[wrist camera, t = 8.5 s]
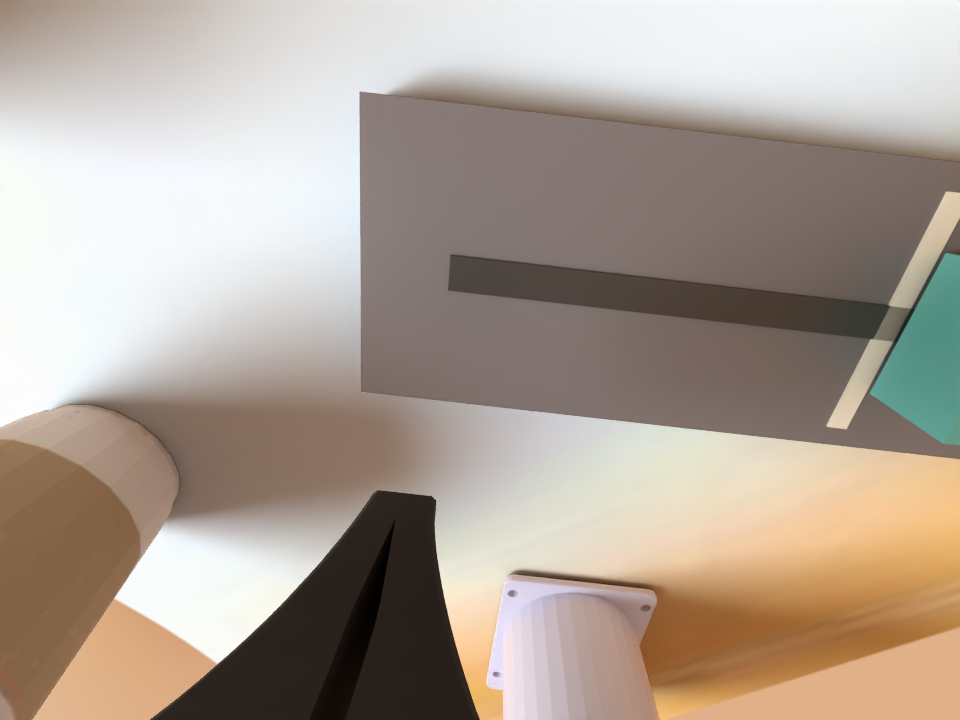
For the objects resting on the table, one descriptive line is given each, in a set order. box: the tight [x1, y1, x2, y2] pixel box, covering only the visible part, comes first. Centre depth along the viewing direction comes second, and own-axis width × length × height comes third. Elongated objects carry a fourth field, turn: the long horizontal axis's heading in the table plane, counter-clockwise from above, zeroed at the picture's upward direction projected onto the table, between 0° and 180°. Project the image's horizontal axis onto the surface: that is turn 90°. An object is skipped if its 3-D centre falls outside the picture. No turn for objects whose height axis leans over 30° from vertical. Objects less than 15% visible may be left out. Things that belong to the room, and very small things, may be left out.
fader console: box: [360, 92, 960, 459], centre depth 16 cm, size 10×24×2 cm, turn 84°
